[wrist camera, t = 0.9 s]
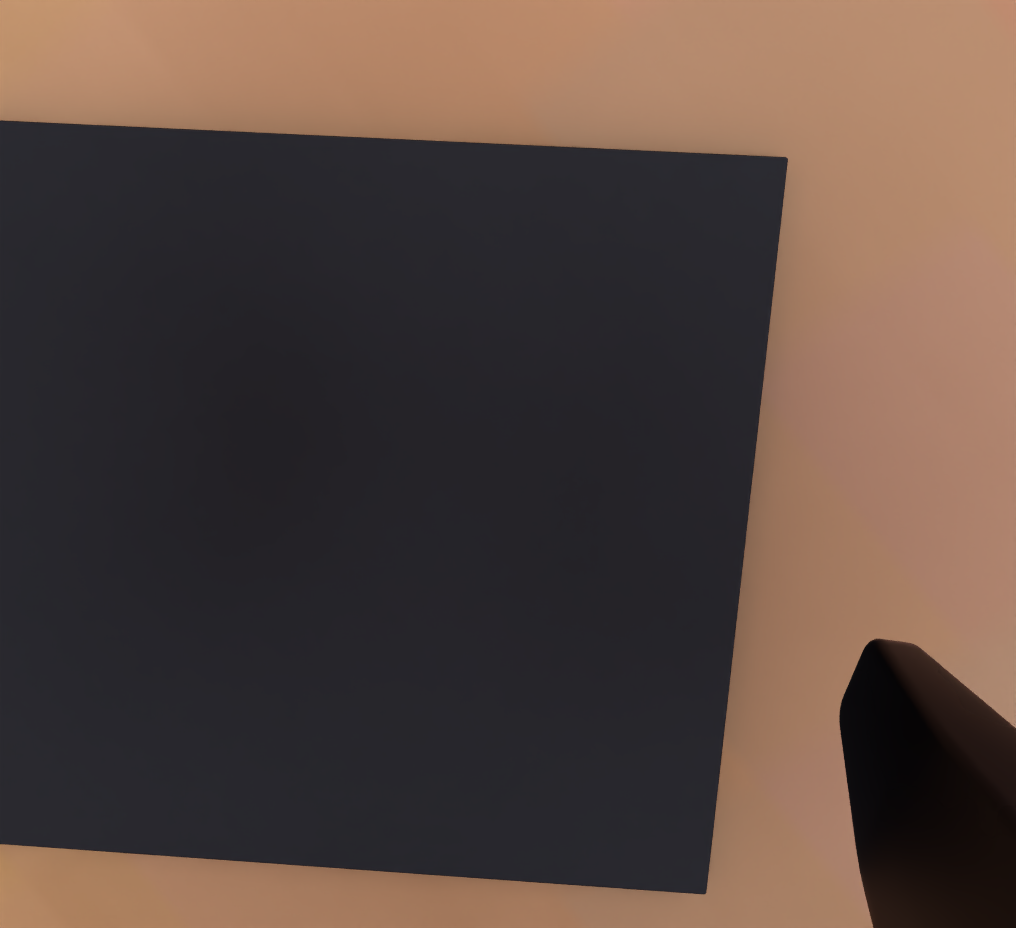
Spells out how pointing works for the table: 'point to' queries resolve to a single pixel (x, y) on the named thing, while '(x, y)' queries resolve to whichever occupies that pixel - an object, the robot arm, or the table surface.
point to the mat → (375, 497)
